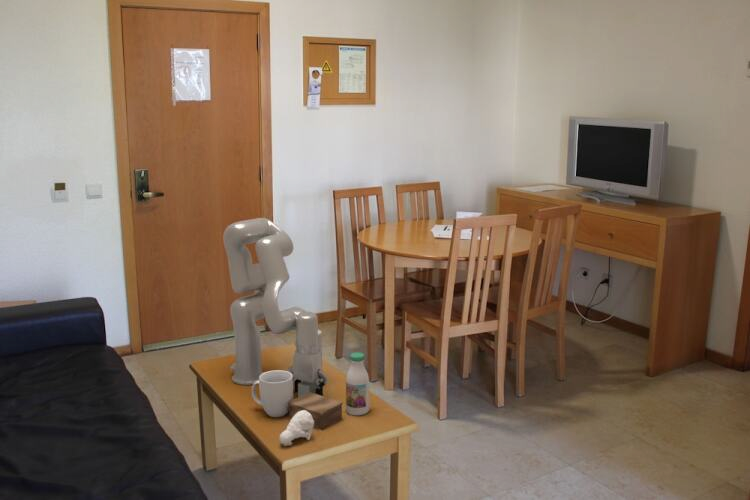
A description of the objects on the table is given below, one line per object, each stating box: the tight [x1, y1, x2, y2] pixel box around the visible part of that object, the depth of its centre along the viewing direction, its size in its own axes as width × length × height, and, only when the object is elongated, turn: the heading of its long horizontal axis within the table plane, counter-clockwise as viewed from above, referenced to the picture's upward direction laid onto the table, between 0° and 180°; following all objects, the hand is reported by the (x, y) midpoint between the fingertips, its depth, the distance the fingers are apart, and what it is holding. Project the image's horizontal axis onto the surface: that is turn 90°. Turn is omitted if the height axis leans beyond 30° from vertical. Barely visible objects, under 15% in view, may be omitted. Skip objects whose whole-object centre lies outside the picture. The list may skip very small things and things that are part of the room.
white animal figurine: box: [278, 410, 314, 447], centre depth 221 cm, size 6×8×12 cm
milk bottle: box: [345, 352, 370, 416], centre depth 240 cm, size 8×8×20 cm
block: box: [297, 380, 317, 398], centre depth 252 cm, size 5×5×6 cm
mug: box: [250, 369, 294, 418], centre depth 241 cm, size 15×11×13 cm
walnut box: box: [288, 392, 343, 431], centre depth 236 cm, size 14×10×6 cm
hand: (308, 394), depth 252 cm, fingers open, 9 cm apart
